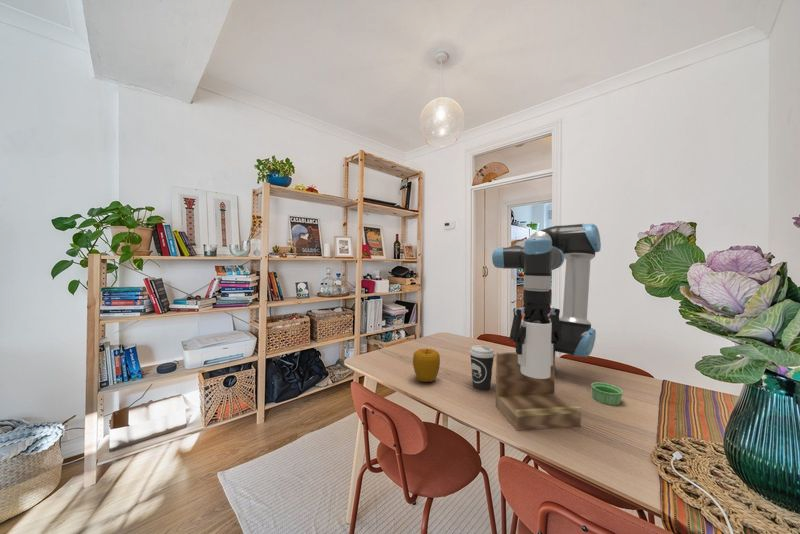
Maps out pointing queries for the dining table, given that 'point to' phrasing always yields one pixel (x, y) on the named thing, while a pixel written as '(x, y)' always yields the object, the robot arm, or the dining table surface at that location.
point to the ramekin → (606, 393)
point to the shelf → (531, 398)
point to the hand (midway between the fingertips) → (535, 364)
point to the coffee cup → (481, 366)
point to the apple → (426, 364)
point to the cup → (537, 350)
